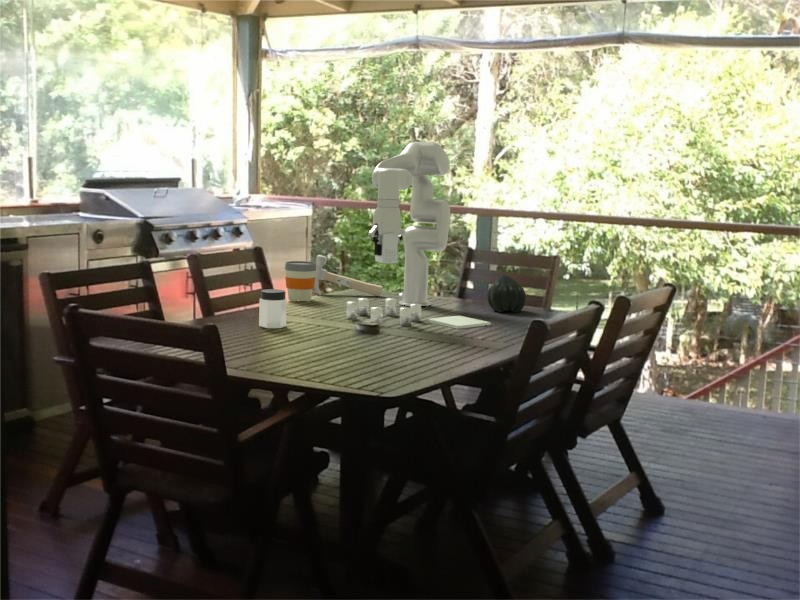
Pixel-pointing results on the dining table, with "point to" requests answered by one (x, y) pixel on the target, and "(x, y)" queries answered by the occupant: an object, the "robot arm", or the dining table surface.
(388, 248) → the small box
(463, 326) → the pad
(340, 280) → the hammer
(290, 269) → the reusable coffee cup
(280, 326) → the jar
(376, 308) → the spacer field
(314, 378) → the dining table surface
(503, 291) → the squash
